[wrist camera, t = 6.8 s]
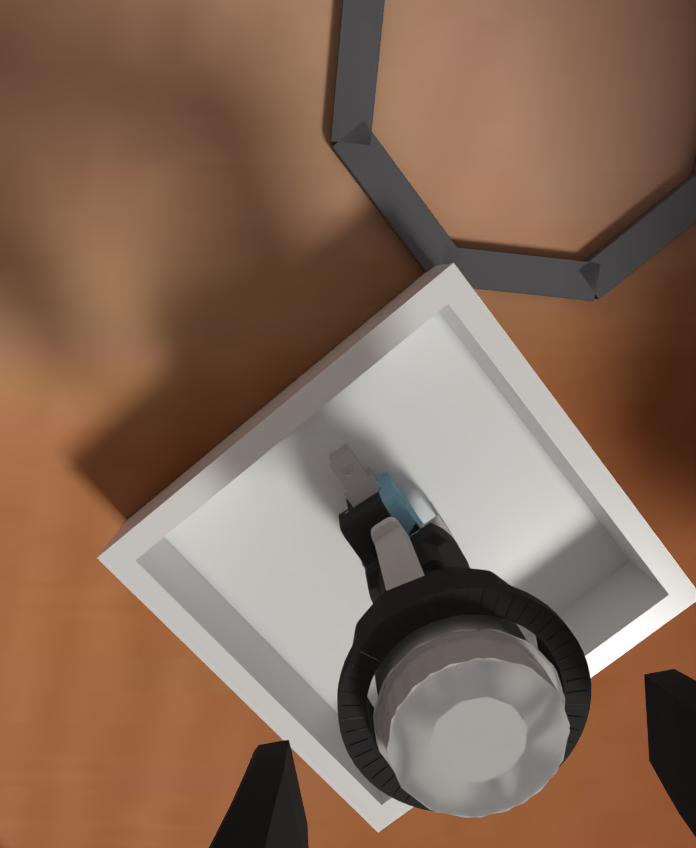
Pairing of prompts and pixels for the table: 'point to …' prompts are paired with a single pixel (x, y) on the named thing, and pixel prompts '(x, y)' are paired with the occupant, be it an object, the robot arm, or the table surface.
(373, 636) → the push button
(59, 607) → the table surface
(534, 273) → the seat ring
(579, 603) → the tray
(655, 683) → the robot arm
